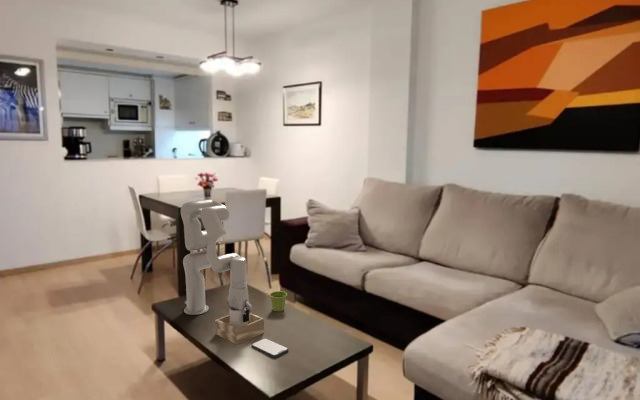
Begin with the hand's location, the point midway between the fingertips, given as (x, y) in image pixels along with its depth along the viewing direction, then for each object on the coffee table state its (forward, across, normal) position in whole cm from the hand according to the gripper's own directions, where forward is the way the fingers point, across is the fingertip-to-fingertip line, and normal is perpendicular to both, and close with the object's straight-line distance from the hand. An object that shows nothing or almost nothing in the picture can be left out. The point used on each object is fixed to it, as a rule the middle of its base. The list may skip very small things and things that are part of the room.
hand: (239, 318), depth 198 cm
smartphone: (+8, +22, -1) cm, 23 cm away
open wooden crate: (+7, 0, 0) cm, 7 cm away
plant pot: (+8, -6, +32) cm, 33 cm away
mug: (+6, +1, 0) cm, 7 cm away
